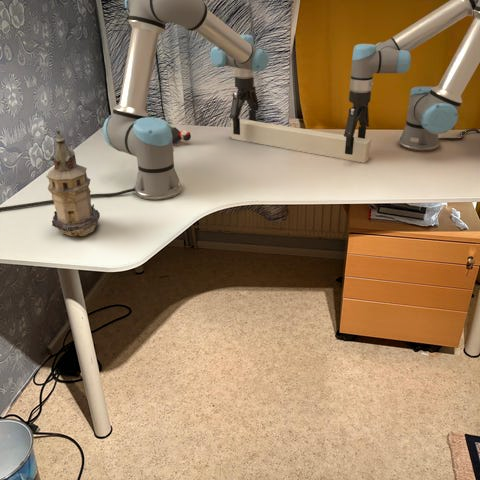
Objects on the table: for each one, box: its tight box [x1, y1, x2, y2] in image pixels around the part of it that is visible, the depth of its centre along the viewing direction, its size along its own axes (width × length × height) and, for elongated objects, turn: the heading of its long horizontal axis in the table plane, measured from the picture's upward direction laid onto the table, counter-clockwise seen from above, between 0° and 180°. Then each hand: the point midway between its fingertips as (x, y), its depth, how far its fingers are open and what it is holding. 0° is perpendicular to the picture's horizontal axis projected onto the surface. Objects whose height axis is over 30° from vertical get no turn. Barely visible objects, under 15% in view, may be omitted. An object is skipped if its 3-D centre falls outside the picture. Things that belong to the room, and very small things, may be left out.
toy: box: [170, 125, 192, 146], centre depth 219 cm, size 26×6×30 cm
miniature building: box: [46, 129, 101, 237], centre depth 148 cm, size 13×14×30 cm
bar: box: [230, 118, 372, 164], centre depth 211 cm, size 58×5×7 cm, turn 60°
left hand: (244, 129), depth 222 cm, fingers open, 12 cm apart
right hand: (354, 148), depth 200 cm, fingers open, 12 cm apart
